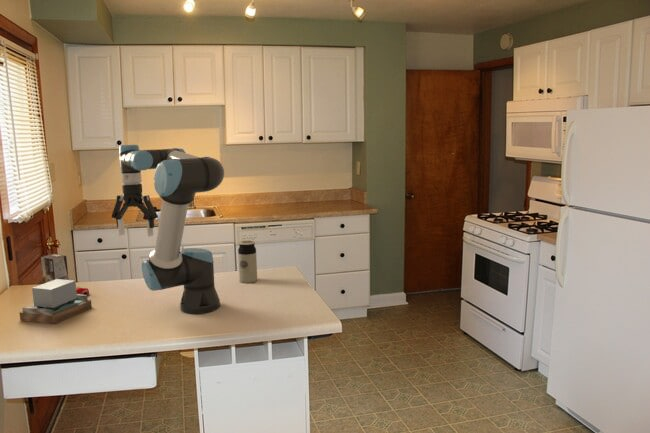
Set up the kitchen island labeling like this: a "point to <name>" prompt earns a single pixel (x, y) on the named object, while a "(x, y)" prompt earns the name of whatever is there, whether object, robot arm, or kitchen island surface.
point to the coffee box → (54, 267)
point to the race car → (82, 291)
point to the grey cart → (54, 293)
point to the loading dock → (56, 311)
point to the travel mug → (247, 261)
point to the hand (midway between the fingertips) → (136, 235)
